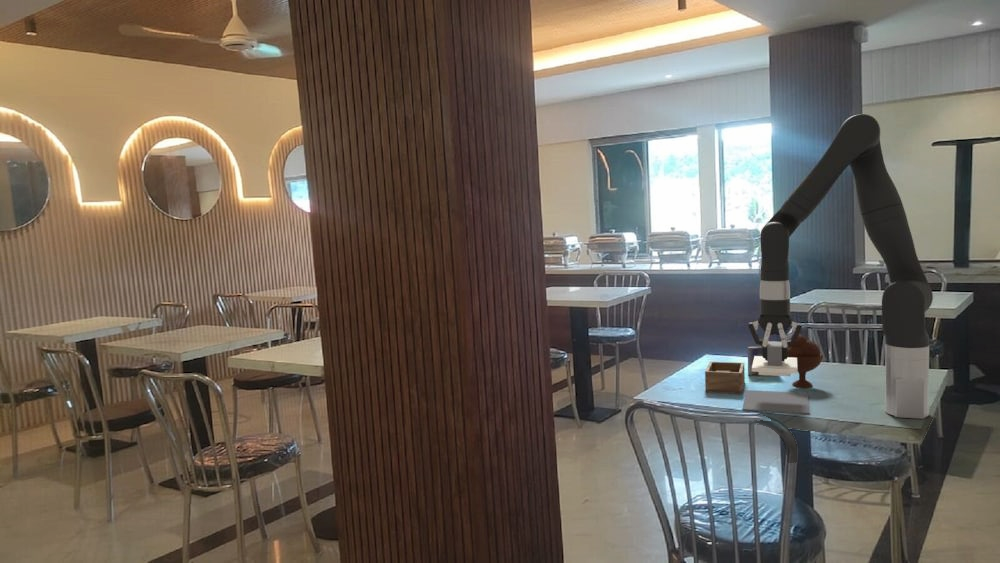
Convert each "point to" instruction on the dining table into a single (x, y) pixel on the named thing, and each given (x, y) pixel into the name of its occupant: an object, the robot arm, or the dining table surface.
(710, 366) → the storage box
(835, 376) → the dining table surface
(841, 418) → the dining table surface
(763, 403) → the rubber mat
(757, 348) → the flask
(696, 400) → the dining table surface
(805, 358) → the ice cream bowl
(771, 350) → the lid
